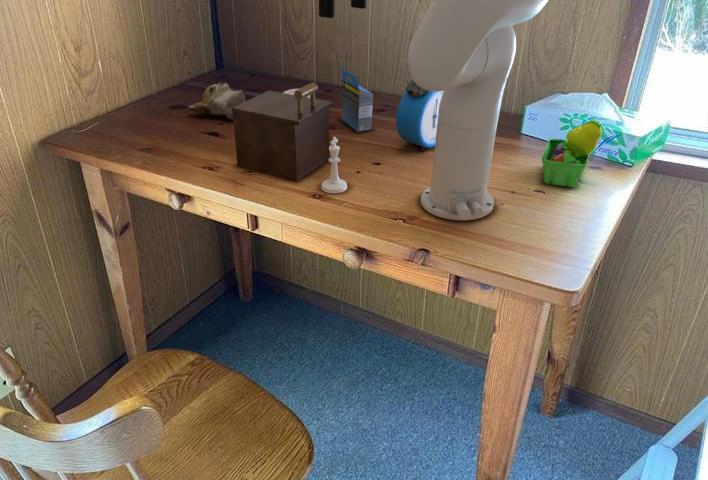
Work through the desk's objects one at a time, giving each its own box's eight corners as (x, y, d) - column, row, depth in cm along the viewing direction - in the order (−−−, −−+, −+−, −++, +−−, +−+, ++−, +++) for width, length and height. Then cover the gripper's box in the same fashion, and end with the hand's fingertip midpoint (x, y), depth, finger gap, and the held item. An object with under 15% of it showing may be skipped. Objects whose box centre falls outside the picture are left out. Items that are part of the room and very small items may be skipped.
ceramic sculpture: (225, 89, 139) (179, 83, 147) (230, 126, 143) (185, 118, 151) (255, 77, 145) (210, 72, 154) (259, 113, 150) (215, 106, 158)
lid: (333, 106, 120) (333, 79, 117) (298, 125, 111) (297, 97, 108) (269, 94, 127) (267, 68, 124) (232, 111, 119) (229, 85, 116)
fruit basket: (544, 161, 122) (555, 106, 116) (591, 168, 119) (606, 111, 112) (535, 185, 114) (548, 126, 107) (587, 193, 111) (603, 133, 104)
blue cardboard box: (372, 130, 139) (374, 75, 132) (357, 132, 138) (358, 77, 131) (355, 117, 146) (356, 65, 139) (340, 120, 145) (340, 67, 138)
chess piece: (352, 186, 116) (353, 136, 110) (336, 195, 113) (336, 144, 107) (332, 179, 119) (332, 130, 113) (315, 188, 116) (315, 138, 110)
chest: (329, 159, 126) (329, 105, 120) (297, 181, 118) (294, 125, 112) (272, 146, 133) (269, 94, 127) (237, 166, 125) (232, 112, 119)
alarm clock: (416, 157, 126) (422, 84, 118) (392, 149, 130) (396, 77, 121) (453, 139, 133) (461, 69, 125) (430, 132, 137) (436, 63, 129)
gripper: (329, -91, 97) (330, 23, 107) (390, -99, 108) (385, 6, 117) (294, -92, 101) (297, 18, 111) (356, -99, 112) (354, 2, 121)
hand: (343, 12), depth 114 cm, fingers open, 9 cm apart
